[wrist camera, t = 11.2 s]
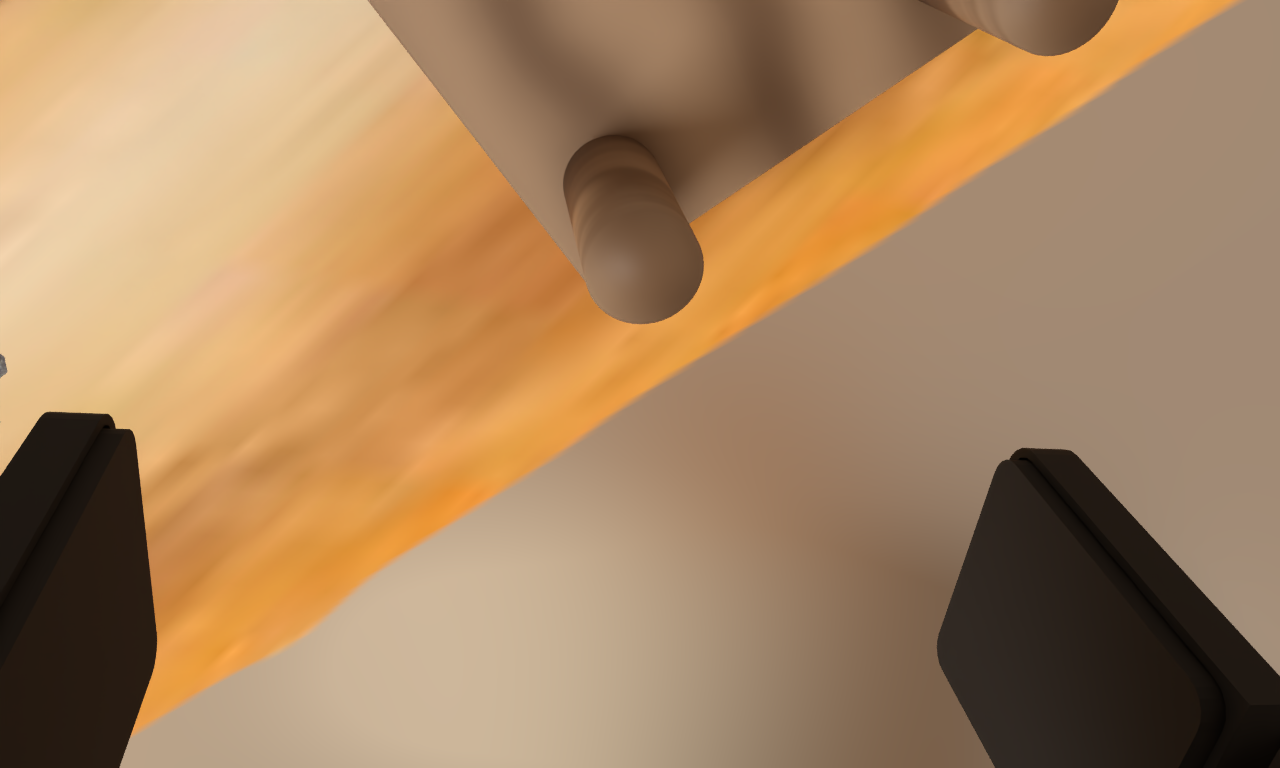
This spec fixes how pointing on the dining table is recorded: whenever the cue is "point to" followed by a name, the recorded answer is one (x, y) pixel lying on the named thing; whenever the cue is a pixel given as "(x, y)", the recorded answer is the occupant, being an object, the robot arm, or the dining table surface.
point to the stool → (678, 104)
